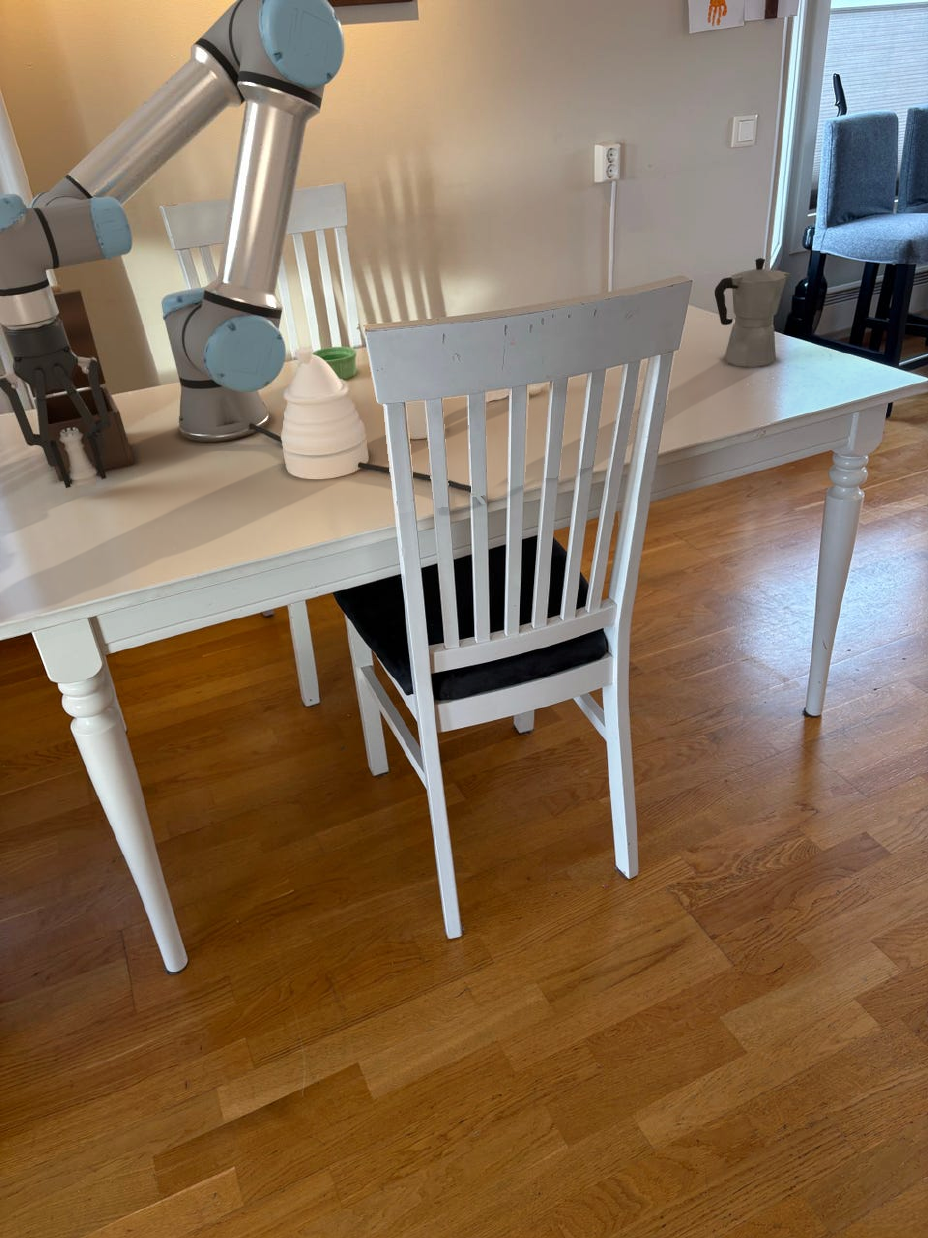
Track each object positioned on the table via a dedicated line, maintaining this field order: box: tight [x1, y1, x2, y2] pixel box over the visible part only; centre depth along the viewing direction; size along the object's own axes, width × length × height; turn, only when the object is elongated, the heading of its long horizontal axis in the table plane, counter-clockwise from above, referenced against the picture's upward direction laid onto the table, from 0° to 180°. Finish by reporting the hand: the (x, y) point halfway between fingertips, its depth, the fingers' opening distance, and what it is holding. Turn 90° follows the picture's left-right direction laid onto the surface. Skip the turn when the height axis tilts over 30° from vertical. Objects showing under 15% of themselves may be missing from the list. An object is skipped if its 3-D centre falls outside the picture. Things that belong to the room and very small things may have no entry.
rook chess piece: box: [60, 428, 101, 488], centre depth 132 cm, size 4×4×8 cm
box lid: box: [28, 284, 107, 399], centre depth 146 cm, size 16×12×6 cm
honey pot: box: [280, 347, 370, 480], centre depth 135 cm, size 13×13×18 cm
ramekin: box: [313, 346, 357, 381], centre depth 176 cm, size 9×9×4 cm
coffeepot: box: [714, 257, 791, 368], centre depth 163 cm, size 15×9×18 cm, turn 111°
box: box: [33, 384, 135, 482], centre depth 147 cm, size 16×12×9 cm
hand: (85, 479), depth 134 cm, fingers closed on rook chess piece, 4 cm apart
